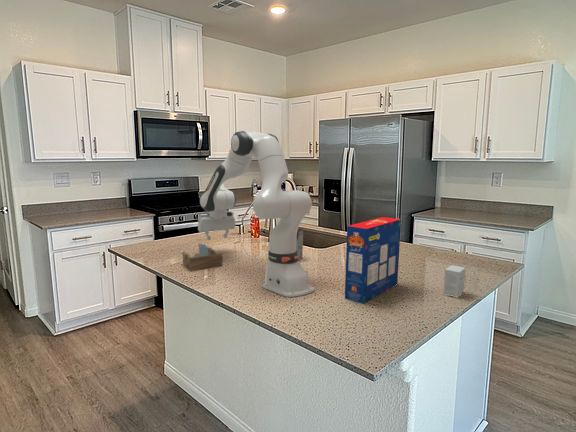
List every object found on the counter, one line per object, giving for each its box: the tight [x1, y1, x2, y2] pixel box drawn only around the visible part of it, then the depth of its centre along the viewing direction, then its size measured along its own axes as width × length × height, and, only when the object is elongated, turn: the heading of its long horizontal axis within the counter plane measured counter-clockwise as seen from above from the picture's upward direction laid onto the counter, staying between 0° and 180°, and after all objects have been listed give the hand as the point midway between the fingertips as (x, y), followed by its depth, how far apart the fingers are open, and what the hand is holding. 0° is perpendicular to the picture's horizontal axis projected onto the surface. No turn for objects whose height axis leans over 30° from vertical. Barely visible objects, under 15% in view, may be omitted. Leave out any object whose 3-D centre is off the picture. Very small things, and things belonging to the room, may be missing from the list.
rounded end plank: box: [198, 242, 211, 255], centre depth 201 cm, size 1×15×6 cm, turn 33°
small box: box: [442, 264, 466, 297], centre depth 149 cm, size 8×6×10 cm
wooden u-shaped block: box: [182, 247, 223, 272], centre depth 185 cm, size 13×16×6 cm
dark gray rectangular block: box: [193, 252, 206, 257], centre depth 185 cm, size 9×4×5 cm, turn 33°
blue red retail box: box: [344, 216, 402, 305], centre depth 150 cm, size 28×8×28 cm, turn 139°
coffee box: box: [296, 227, 304, 261], centre depth 197 cm, size 9×6×16 cm
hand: (217, 238), depth 205 cm, fingers open, 8 cm apart
